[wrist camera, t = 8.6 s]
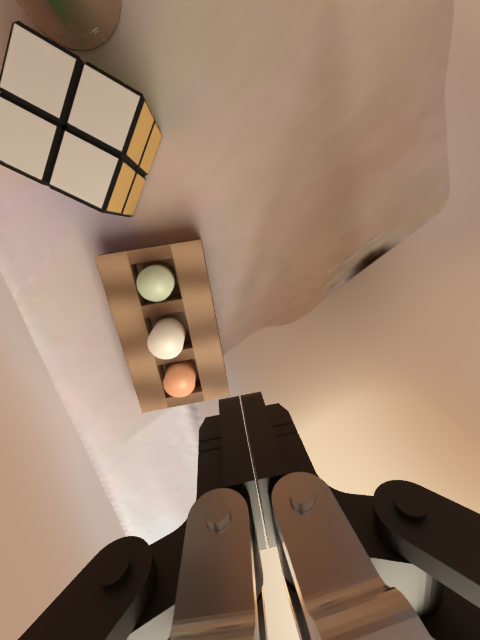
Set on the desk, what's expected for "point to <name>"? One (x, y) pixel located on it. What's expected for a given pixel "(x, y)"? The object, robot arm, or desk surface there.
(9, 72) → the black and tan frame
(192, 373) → the terracotta egg
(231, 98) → the desk surface
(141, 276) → the pale green piece
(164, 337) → the cream white egg
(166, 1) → the desk surface
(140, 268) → the wooden egg rack
